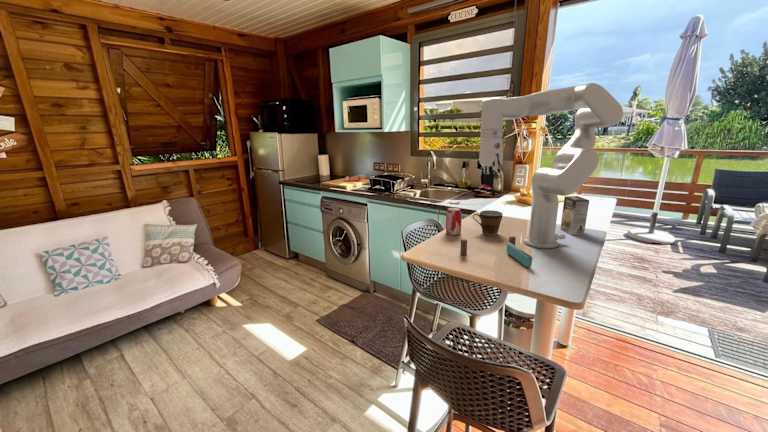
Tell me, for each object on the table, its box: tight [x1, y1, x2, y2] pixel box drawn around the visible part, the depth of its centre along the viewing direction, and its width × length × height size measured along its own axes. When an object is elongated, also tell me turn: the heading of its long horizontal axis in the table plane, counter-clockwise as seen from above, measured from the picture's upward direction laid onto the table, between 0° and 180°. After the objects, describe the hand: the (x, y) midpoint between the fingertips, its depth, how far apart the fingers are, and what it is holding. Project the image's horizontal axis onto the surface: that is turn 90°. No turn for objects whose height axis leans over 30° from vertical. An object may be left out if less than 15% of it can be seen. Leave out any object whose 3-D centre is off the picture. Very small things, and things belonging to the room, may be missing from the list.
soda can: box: [445, 206, 462, 236], centre depth 142 cm, size 7×7×12 cm
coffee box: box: [559, 195, 590, 236], centre depth 139 cm, size 9×6×16 cm
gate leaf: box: [506, 241, 533, 268], centre depth 111 cm, size 14×2×4 cm, turn 7°
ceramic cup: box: [472, 209, 504, 237], centre depth 141 cm, size 13×10×10 cm
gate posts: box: [459, 235, 517, 257], centre depth 118 cm, size 22×2×6 cm, turn 96°
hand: (488, 184), depth 115 cm, fingers closed
